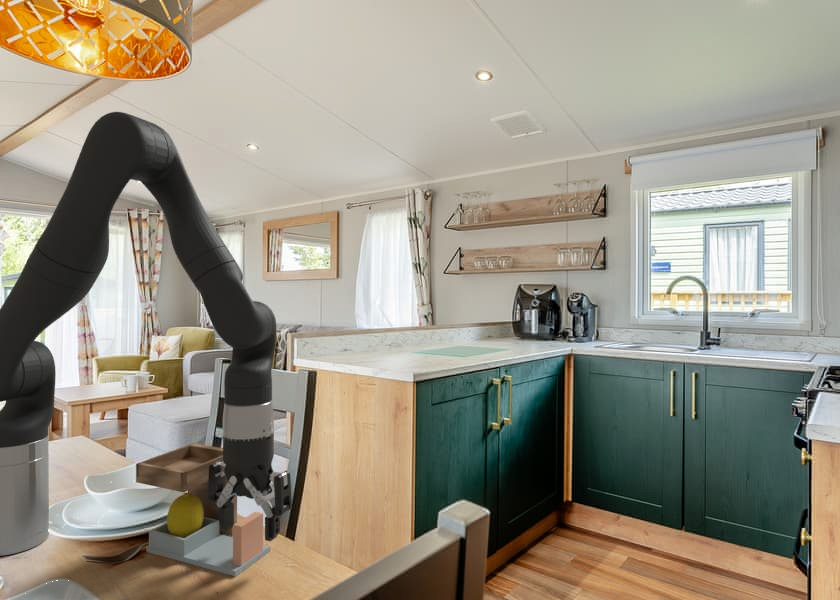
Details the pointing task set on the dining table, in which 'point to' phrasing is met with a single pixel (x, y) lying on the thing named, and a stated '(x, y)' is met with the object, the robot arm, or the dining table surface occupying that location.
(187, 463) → the shelf
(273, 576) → the dining table surface
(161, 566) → the dining table surface
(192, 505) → the lemon
